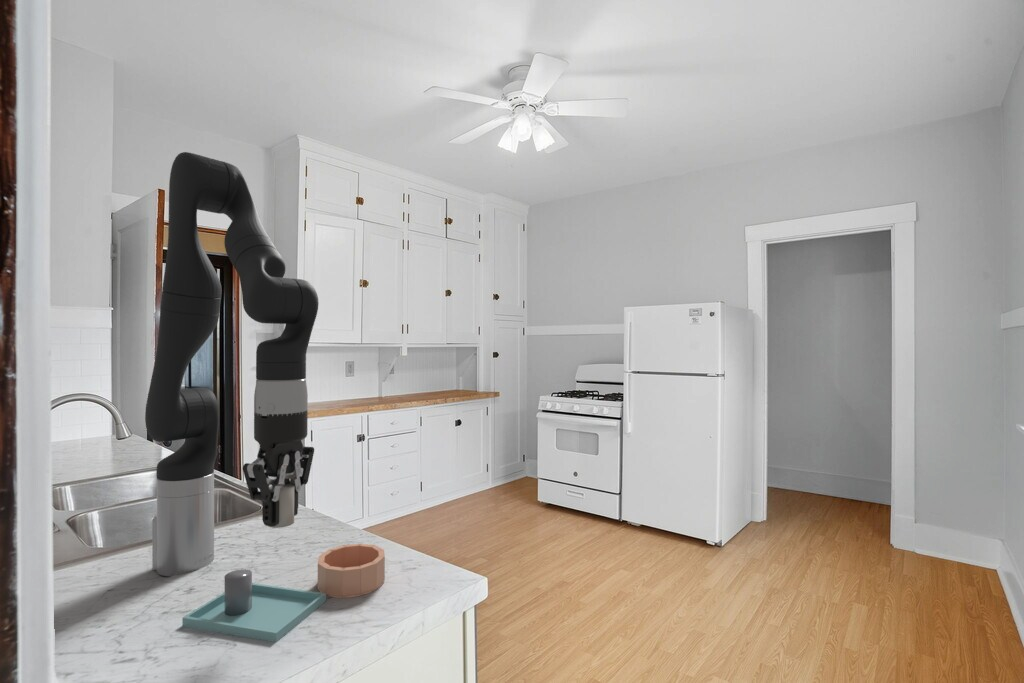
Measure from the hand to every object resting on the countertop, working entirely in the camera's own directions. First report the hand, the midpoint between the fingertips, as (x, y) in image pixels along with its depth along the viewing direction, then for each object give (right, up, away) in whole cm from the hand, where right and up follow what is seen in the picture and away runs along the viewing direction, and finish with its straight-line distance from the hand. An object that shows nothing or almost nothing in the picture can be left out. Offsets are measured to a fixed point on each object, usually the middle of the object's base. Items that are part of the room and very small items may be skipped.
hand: (280, 519), depth 83 cm
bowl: (+8, -15, +11) cm, 20 cm away
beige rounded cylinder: (0, -1, 0) cm, 1 cm away
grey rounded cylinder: (-7, -15, +1) cm, 16 cm away
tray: (-4, -15, +1) cm, 16 cm away
